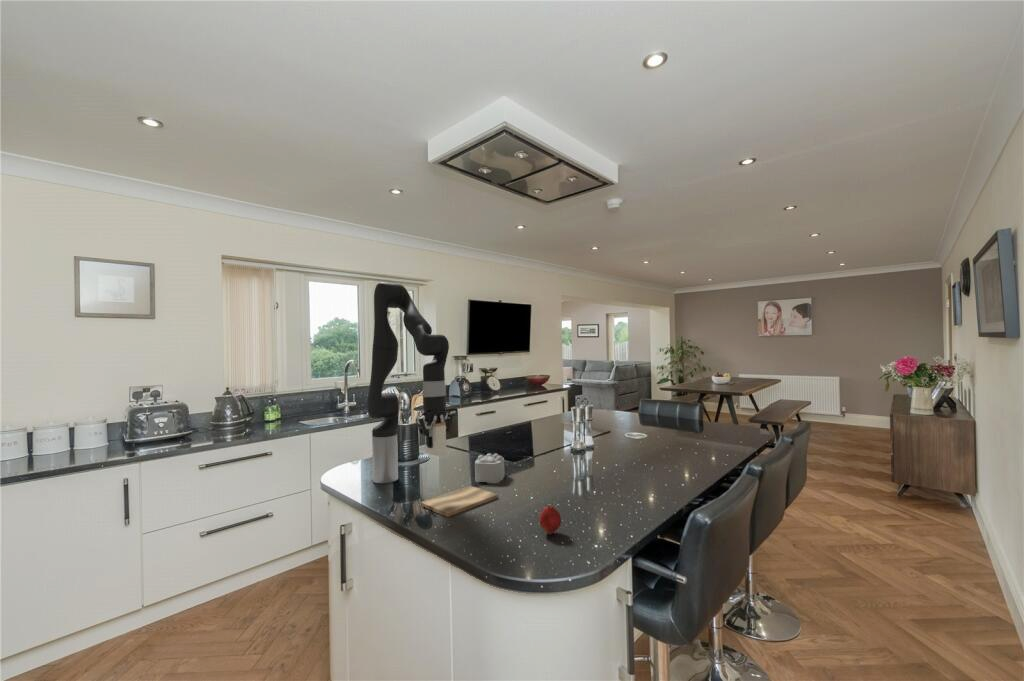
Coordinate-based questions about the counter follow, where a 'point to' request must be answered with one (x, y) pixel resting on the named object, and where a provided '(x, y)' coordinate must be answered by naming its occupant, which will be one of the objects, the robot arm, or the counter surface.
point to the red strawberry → (550, 519)
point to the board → (458, 501)
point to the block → (438, 439)
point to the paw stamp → (489, 468)
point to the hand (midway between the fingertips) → (435, 446)
